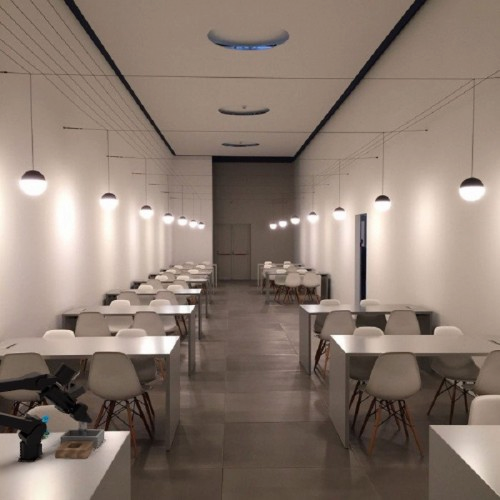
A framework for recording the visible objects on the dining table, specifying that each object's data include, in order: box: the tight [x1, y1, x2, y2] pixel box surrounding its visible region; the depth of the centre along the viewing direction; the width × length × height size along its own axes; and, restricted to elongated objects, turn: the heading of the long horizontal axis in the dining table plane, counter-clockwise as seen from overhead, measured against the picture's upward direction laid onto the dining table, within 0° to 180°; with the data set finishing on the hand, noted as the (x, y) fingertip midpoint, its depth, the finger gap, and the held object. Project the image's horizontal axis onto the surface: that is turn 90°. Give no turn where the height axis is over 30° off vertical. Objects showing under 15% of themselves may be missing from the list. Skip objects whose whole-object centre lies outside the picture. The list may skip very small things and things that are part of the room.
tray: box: [59, 428, 105, 449], centre depth 197 cm, size 14×8×4 cm, turn 88°
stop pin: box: [77, 421, 88, 436], centre depth 197 cm, size 3×3×11 cm
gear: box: [41, 414, 50, 438], centre depth 206 cm, size 11×6×10 cm
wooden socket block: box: [54, 441, 95, 459], centre depth 188 cm, size 11×8×3 cm
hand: (86, 419), depth 198 cm, fingers open, 9 cm apart
